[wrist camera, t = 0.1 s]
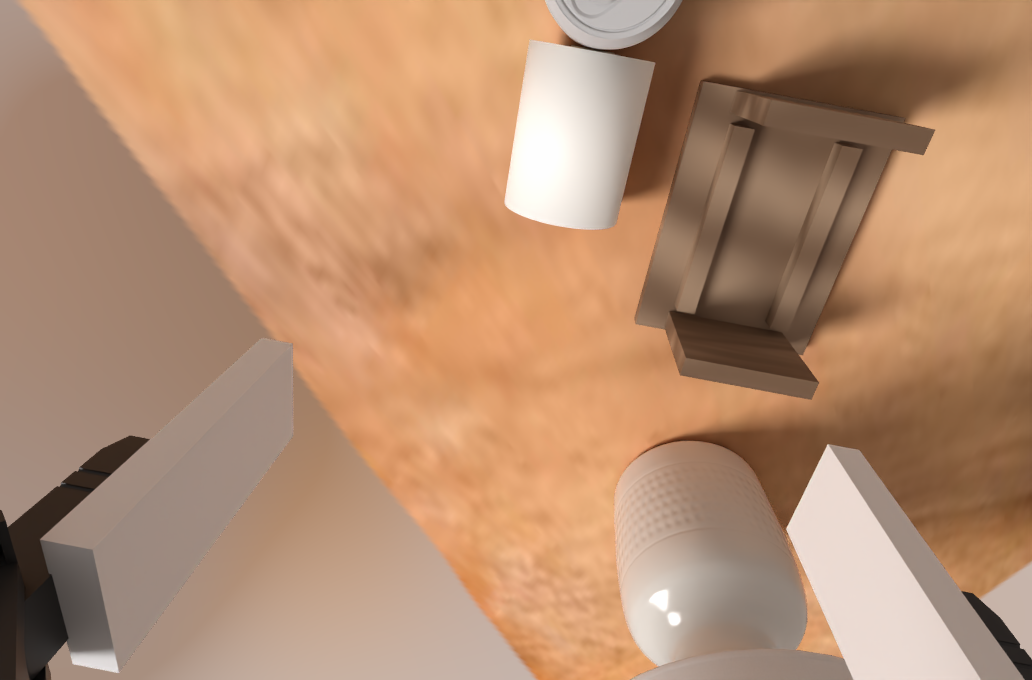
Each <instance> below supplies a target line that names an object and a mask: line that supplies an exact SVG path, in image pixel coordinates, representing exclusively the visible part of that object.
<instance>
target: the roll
mask: <svg viewBox="0 0 1032 680" xmlns="http://www.w3.org/2000/svg"><path fill="white" fill-rule="evenodd" d="M654 67H655V62H650V61H645V60H640V59H635V58H629V57H624V56H618V55H614V53H612V52H607V51H601V50H596V49H591V48H585V47H579V46H574V45H571V47H569V46H564V45H558V44H553V43H547V42H541V41H535V40H529V47H528V53H527V60H526V66H525V73H524V79H523V86H522V92H521V98H520V105H519V111H518V118H517V124H516V131H515V137H514V144H513V150H512V157H511V163H510V169H509V176H508V182H507V189H506V195H505V205H506V206H507V207H508V208H509V209H510V210H512V211H513V212H515V213H517V214H519V215H522V216H524V217H527V218H530V219H532V220H536V221H539V222H543V223H547V224H551V225H556V226H561V227H567V228H575V229H588V230H598V229H607V228H611V227H613V226H615V225H616V222H617V218H618V214H619V210H620V206H621V202H622V198H623V194H624V190H625V185H626V181H627V177H628V173H629V169H630V165H631V161H632V157H633V153H634V149H635V145H636V140H637V136H638V132H639V128H640V124H641V120H642V116H643V112H644V108H645V104H646V100H647V95H648V91H649V87H650V83H651V79H652V75H653V71H654Z"/></svg>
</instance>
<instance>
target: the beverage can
mask: <svg viewBox="0 0 1032 680" xmlns="http://www.w3.org/2000/svg"><path fill="white" fill-rule="evenodd" d="M545 2H546V4H547V7H548V9H549V11H550V13H551V14H552V16H553V18H554V19H555V21H556V22H557V23H558V25H559V26H560V27H561V29H562V30H563V31H564V32H565V33H566V34H567V35H568V36H569V37H570V38H571V39H572V40H574V41H575V42H577V43H579V44H581V45H583V46H585V47H589V48H593V49H621V48H626V47H630V46H633V45H636V44H638V43H640V42H642V41H644V40H646V39H648V38H649V37H651V36H652V35H654V34H655V33H656V32H658V31H659V30H660V29H661V28H662V27H663V26H664V25H665V24H666V23H667V22H668V21H669V20H670V19H671V17H672V16H673V15H674V13H675V12H676V11H677V9H678V8H679V6H680V4H681V2H682V0H545Z"/></svg>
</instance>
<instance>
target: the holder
mask: <svg viewBox="0 0 1032 680" xmlns="http://www.w3.org/2000/svg"><path fill="white" fill-rule="evenodd" d="M904 121H905V118H902V117H897V116H891V115H886V114H881V113H875V112H870V111H864V110H859V109H853V108H848V107H842V106H837V105H831V104H826V103H820V102H815V101H810V100H804V99H799V98H793V97H788V96H782V95H777V94H771V93H766V92H760V91H755V90H749V89H744V88H739V87H733V86H728V85H722V84H717V83H711V82H706V81H701V82H700V85H699V89H698V92H697V96H696V100H695V103H694V107H693V110H692V114H691V118H690V121H689V125H688V128H687V132H686V135H685V139H684V143H683V146H682V150H681V153H680V157H679V161H678V164H677V168H676V171H675V175H674V178H673V182H672V186H671V189H670V193H669V196H668V200H667V204H666V207H665V211H664V214H663V218H662V221H661V225H660V229H659V232H658V236H657V239H656V243H655V247H654V250H653V254H652V257H651V261H650V264H649V268H648V272H647V275H646V279H645V282H644V286H643V290H642V293H641V297H640V300H639V304H638V307H637V311H636V315H635V323H636V324H638V325H644V326H649V327H655V328H660V329H665V330H666V333H667V337H668V340H669V343H670V346H671V349H672V352H673V355H674V358H675V361H676V364H677V367H678V370H679V373H680V375H682V376H687V377H693V378H698V379H703V380H709V381H714V382H719V383H725V384H730V385H735V386H741V387H746V388H751V389H757V390H762V391H767V392H773V393H778V394H783V395H789V396H794V397H800V398H805V399H810V400H811V399H812V397H813V395H814V393H815V391H816V388H817V386H818V384H819V382H818V381H817V379H816V378H815V377H814V375H813V374H812V372H811V371H810V370H809V368H808V367H807V366H806V364H805V363H804V362H803V360H802V359H801V358H800V356H799V355H803V353H804V351H805V349H806V346H807V344H808V342H809V339H810V337H811V335H812V333H813V330H814V328H815V326H816V323H817V321H818V319H819V316H820V314H821V312H822V310H823V307H824V305H825V303H826V300H827V298H828V296H829V293H830V291H831V289H832V286H833V284H834V282H835V280H836V277H837V275H838V273H839V270H840V268H841V266H842V263H843V261H844V259H845V257H846V254H847V252H848V250H849V247H850V245H851V243H852V240H853V238H854V236H855V233H856V231H857V229H858V227H859V224H860V222H861V220H862V217H863V215H864V213H865V210H866V208H867V206H868V204H869V201H870V199H871V197H872V194H873V192H874V190H875V187H876V185H877V183H878V180H879V178H880V176H881V174H882V171H883V169H884V167H885V164H886V162H887V160H888V157H889V155H890V153H891V150H892V149H893V150H898V151H904V152H909V153H915V154H920V155H924V153H925V151H926V149H927V147H928V144H929V142H930V140H931V138H932V136H933V134H934V131H935V130H934V129H929V128H925V127H920V126H916V125H911V124H906V123H904ZM798 354H799V355H798Z"/></svg>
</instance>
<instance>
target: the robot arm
mask: <svg viewBox="0 0 1032 680" xmlns="http://www.w3.org/2000/svg"><path fill="white" fill-rule="evenodd" d="M292 437H293V344H292V343H287V342H281V341H276V340H271V339H265V338H261V339H260V340H259V341H258V342H257V343H256V344H254V345H253V346H252V347H251V348H250V349H249V350H248V351H247V352H246V353H244V354H243V355H242V356H241V357H240V358H239V359H238V360H237V361H236V362H235V363H233V365H231V366H230V367H229V368H228V369H227V370H226V371H225V372H224V373H222V374H221V375H220V376H219V377H218V378H217V379H216V380H215V381H214V382H213V383H212V384H210V385H209V386H208V387H207V388H206V389H205V390H204V391H203V392H202V393H200V395H198V396H197V397H196V398H195V399H194V400H193V401H192V402H191V403H189V404H188V405H187V406H186V407H185V408H184V409H183V410H182V411H181V412H180V413H179V414H177V415H176V416H175V417H174V418H173V419H172V420H171V421H170V422H169V423H167V424H166V425H165V426H164V427H163V428H162V429H161V430H160V431H159V432H158V433H157V434H155V435H154V436H153V437H152V438H151V439H145V438H140V437H135V436H128V437H126V438H124V439H122V440H120V441H118V442H115V443H113V444H111V445H109V446H108V447H105V448H103V449H101V450H100V451H99V452H98V453H96V454H95V455H94V456H93V457H91V458H90V459H89V460H88V461H87V462H85V463H84V464H83V465H82V466H81V467H80V468H79V471H78V472H77V471H75V472H74V473H72V474H71V475H70V476H69V477H68V478H66V479H65V480H64V481H63V482H62V483H61V486H60V487H58V486H57V487H56V488H54V489H53V490H52V491H51V492H50V493H48V494H47V495H46V496H45V497H44V498H42V499H41V500H40V501H39V502H38V503H36V504H35V505H34V506H33V507H32V508H31V509H29V510H28V511H27V512H26V513H24V514H23V515H22V516H21V517H20V518H19V519H17V520H16V521H15V522H14V523H12V524H11V525H10V526H9V527H7V524H6V521H5V518H4V515H3V513H2V511H1V510H0V680H51V673H50V670H49V666H48V662H49V661H50V660H51V658H52V657H53V656H54V655H55V654H56V653H57V651H58V650H59V649H60V648H61V647H62V646H63V644H64V643H65V642H66V641H67V644H68V647H69V651H70V655H71V659H72V663H73V664H75V665H80V666H85V667H90V668H96V669H101V670H106V671H111V672H117V673H119V672H120V671H121V670H122V668H123V666H125V664H126V663H127V661H128V660H129V659H130V657H131V656H132V655H133V653H134V652H135V650H136V649H137V648H138V646H139V645H140V644H141V642H142V641H143V640H144V638H145V637H146V636H147V634H148V633H149V632H150V630H151V629H152V627H153V626H154V625H155V623H156V622H157V621H158V619H159V618H160V617H161V615H162V614H163V613H164V611H165V610H166V608H167V607H168V606H169V604H170V603H171V602H172V600H173V599H174V598H175V596H176V595H177V593H178V592H179V591H180V589H181V588H182V587H183V585H184V584H185V582H186V581H187V580H188V578H189V577H190V576H191V574H192V573H193V572H194V570H195V569H196V568H197V566H198V565H199V564H200V562H201V561H202V559H203V558H204V556H205V555H206V554H207V553H208V551H209V550H210V549H211V547H212V546H213V544H214V543H215V542H216V540H217V539H218V538H219V536H220V535H221V534H222V532H223V531H224V530H225V528H226V527H227V525H228V524H229V523H230V521H231V520H232V519H233V517H234V516H235V514H236V513H237V512H238V510H239V509H240V508H241V506H242V505H243V504H244V502H245V501H246V500H247V498H248V497H249V495H250V494H251V493H252V491H253V490H254V489H255V487H256V486H257V485H258V483H259V482H260V481H261V479H262V478H263V476H264V475H265V474H266V472H267V471H268V470H269V468H270V467H271V466H272V464H273V463H274V461H275V460H276V459H277V457H278V456H279V455H280V453H281V452H282V451H283V449H284V448H285V447H286V445H287V444H288V442H289V441H290V440H291V438H292ZM786 530H787V532H788V534H789V536H790V539H791V541H792V543H793V545H794V548H795V550H796V552H797V554H798V557H799V559H800V561H801V563H802V566H803V568H804V570H805V572H806V575H807V577H808V579H809V581H810V583H811V586H812V588H813V590H814V592H815V595H816V597H817V599H818V601H819V604H820V606H821V608H822V610H823V613H824V615H825V617H826V619H827V622H828V624H829V626H830V628H831V631H832V633H833V635H834V637H835V640H836V642H837V644H838V646H839V649H840V651H841V653H842V655H843V657H844V660H845V662H846V664H847V666H848V669H849V671H850V673H851V675H852V678H853V680H1032V659H1031V658H1030V657H1029V655H1028V654H1027V653H1026V651H1025V650H1024V649H1020V643H1019V642H1018V641H1017V639H1016V638H1015V637H1014V635H1013V634H1012V633H1011V632H1010V630H1009V629H1008V628H1007V626H1006V625H1005V624H1004V622H1003V621H1002V620H1001V618H1000V617H999V616H998V615H996V614H995V613H994V612H993V611H992V610H991V609H990V608H988V607H987V606H986V605H985V604H984V603H983V602H982V601H981V600H980V599H978V598H977V597H976V596H975V595H974V594H973V593H968V592H963V591H961V590H960V589H959V588H958V586H957V585H956V584H955V582H954V581H953V579H952V578H951V577H950V575H949V574H948V572H947V571H946V570H945V568H944V567H943V565H942V564H941V563H940V561H939V560H938V559H937V557H936V556H935V554H934V553H933V552H932V550H931V549H930V547H929V546H928V545H927V543H926V542H925V540H924V539H923V538H922V536H921V535H920V533H919V532H918V531H917V529H916V528H915V527H914V525H913V524H912V522H911V521H910V520H909V518H908V517H907V515H906V514H905V513H904V511H903V510H902V508H901V507H900V506H899V504H898V503H897V502H896V500H895V499H894V497H893V496H892V495H891V493H890V492H889V490H888V489H887V488H886V486H885V485H884V483H883V482H882V481H881V479H880V478H879V477H878V475H877V474H876V472H875V471H874V470H873V468H872V467H871V465H870V464H869V463H868V461H867V460H866V458H865V457H864V456H863V454H862V453H861V452H860V450H857V449H852V448H846V447H841V446H836V445H830V444H828V445H827V447H826V449H825V451H824V453H823V455H822V457H821V459H820V461H819V463H818V465H817V467H816V469H815V471H814V473H813V475H812V477H811V479H810V482H809V484H808V486H807V488H806V490H805V492H804V494H803V496H802V498H801V500H800V502H799V504H798V506H797V508H796V510H795V512H794V514H793V516H792V518H791V520H790V522H789V524H788V526H787V528H786Z"/></svg>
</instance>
